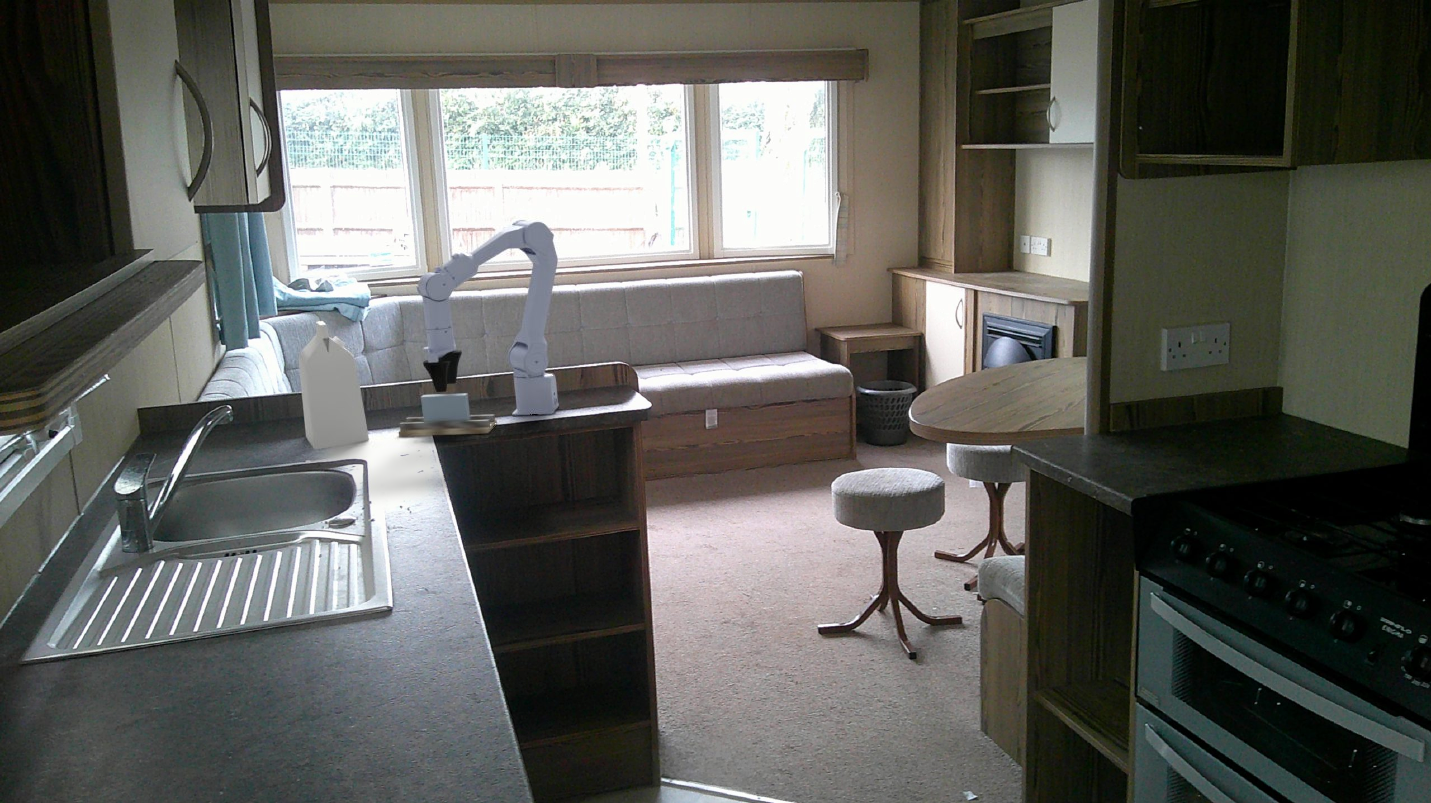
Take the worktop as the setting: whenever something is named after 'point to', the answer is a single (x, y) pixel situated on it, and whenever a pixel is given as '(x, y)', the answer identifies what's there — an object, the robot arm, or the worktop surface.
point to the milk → (331, 392)
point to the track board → (447, 426)
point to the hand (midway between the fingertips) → (446, 387)
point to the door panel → (445, 407)
